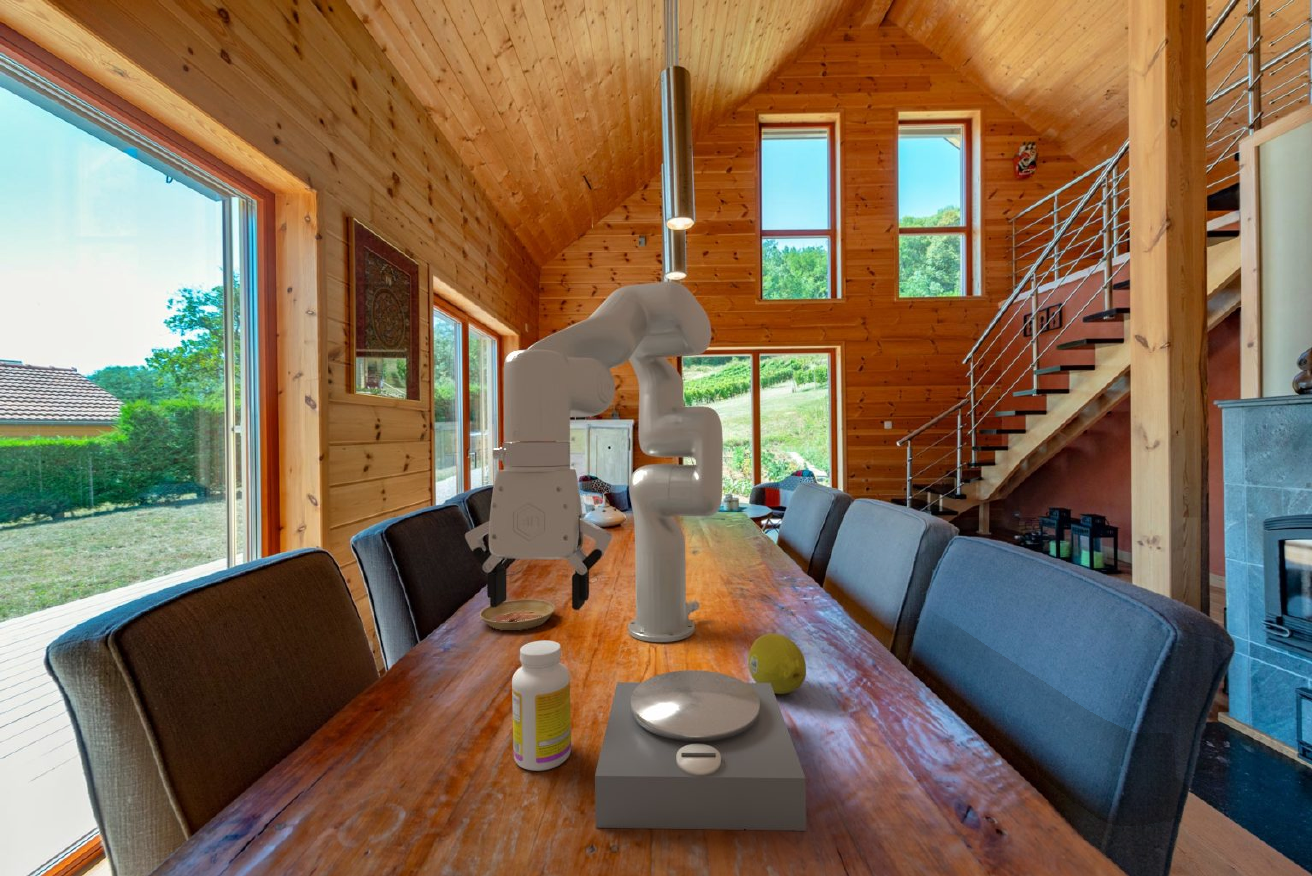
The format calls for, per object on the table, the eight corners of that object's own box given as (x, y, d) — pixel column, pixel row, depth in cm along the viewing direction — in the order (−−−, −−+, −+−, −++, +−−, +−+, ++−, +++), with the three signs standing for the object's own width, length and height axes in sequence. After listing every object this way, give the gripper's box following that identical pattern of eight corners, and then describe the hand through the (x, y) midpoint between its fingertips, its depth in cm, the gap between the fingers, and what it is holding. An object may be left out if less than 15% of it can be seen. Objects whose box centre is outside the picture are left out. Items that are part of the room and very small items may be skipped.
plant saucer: (464, 632, 108) (463, 618, 108) (506, 608, 122) (505, 596, 122) (532, 639, 104) (532, 625, 104) (567, 614, 118) (567, 601, 118)
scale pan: (635, 677, 73) (635, 670, 73) (750, 678, 73) (750, 670, 73) (625, 740, 58) (625, 731, 58) (769, 742, 58) (769, 732, 58)
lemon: (741, 677, 86) (741, 625, 86) (791, 674, 87) (790, 623, 87) (761, 712, 75) (760, 652, 75) (817, 708, 76) (816, 650, 76)
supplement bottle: (581, 746, 68) (579, 640, 67) (553, 778, 61) (551, 662, 61) (532, 737, 70) (531, 634, 70) (501, 767, 64) (499, 654, 63)
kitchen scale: (617, 720, 74) (617, 676, 74) (770, 721, 73) (770, 676, 73) (595, 827, 54) (594, 767, 54) (806, 830, 53) (805, 769, 53)
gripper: (451, 459, 62) (452, 613, 62) (603, 458, 60) (604, 618, 60) (480, 457, 70) (481, 594, 70) (616, 456, 68) (617, 598, 68)
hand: (538, 605), depth 65 cm, fingers open, 9 cm apart
